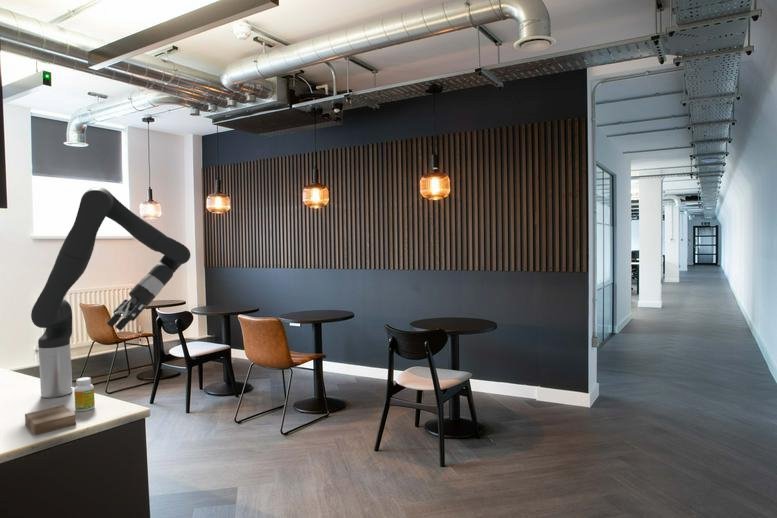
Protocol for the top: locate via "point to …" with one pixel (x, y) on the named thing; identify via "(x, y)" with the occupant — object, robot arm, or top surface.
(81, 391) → the supplement bottle
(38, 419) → the walnut riser
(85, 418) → the top surface
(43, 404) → the top surface
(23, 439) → the top surface
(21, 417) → the top surface
